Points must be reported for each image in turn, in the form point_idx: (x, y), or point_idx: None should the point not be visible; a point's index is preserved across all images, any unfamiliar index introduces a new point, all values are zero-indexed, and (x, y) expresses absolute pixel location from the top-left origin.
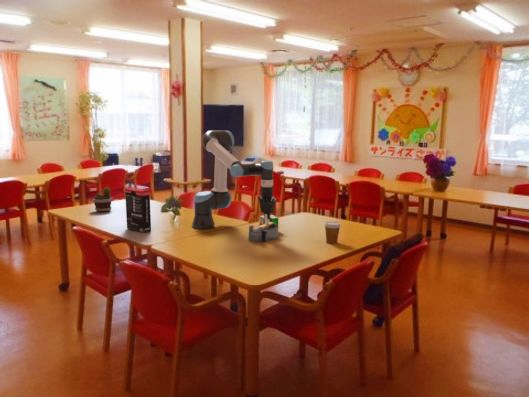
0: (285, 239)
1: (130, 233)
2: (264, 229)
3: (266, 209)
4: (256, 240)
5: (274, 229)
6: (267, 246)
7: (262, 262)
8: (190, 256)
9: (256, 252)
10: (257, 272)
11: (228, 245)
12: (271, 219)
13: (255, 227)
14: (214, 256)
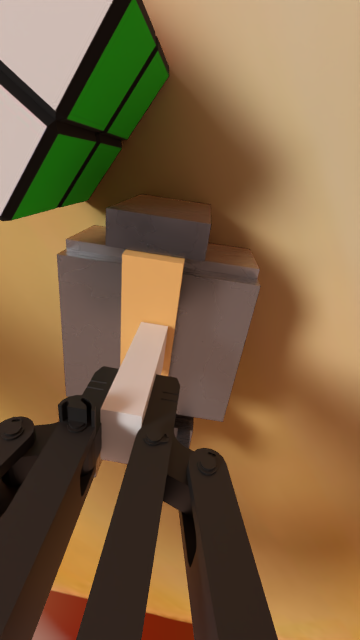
0: (323, 262)
1: None
2: None
3: (73, 499)
4: None
5: (246, 333)
6: (267, 438)
7: (329, 574)
8: (89, 585)
9: (258, 513)
10: (345, 620)
11: (96, 485)
12: (67, 121)
13: (72, 363)
14: None
